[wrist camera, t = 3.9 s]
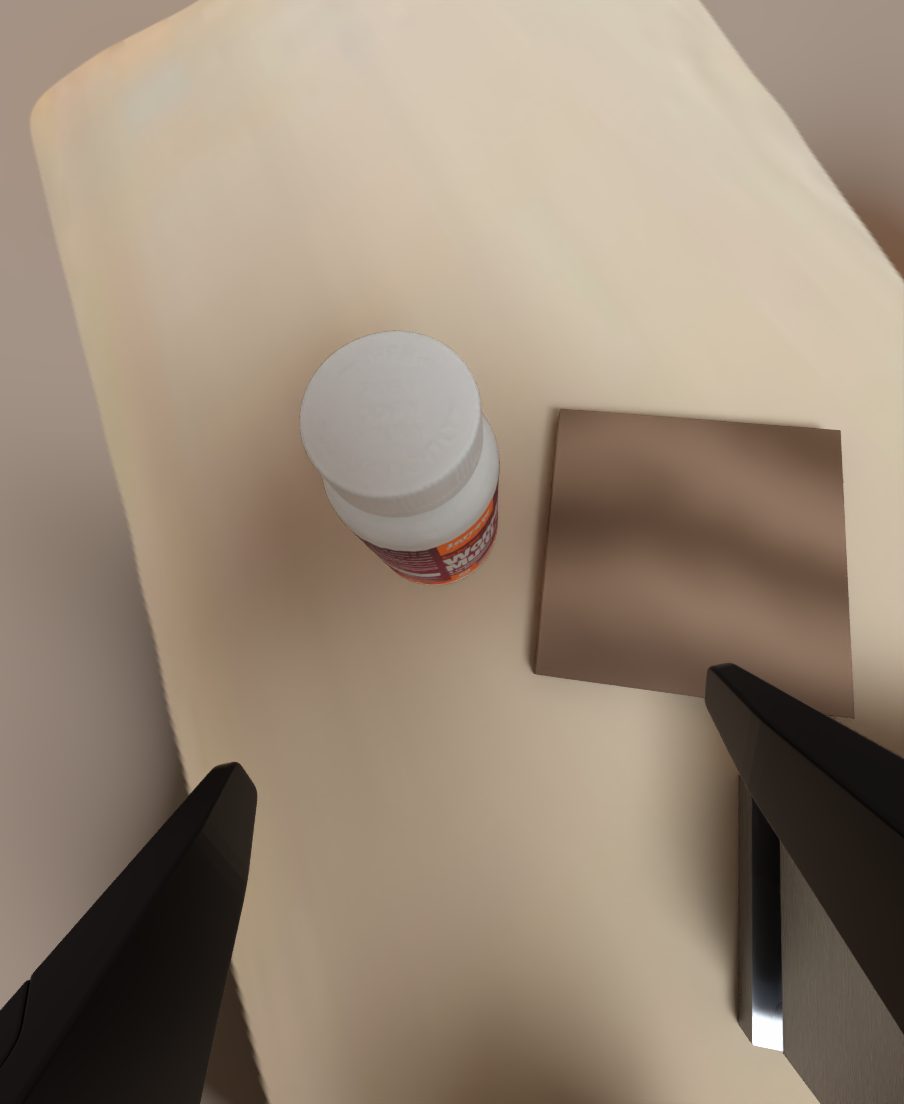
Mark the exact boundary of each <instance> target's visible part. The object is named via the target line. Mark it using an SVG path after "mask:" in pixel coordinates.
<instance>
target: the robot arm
mask: <svg viewBox="0 0 904 1104" xmlns="http://www.w3.org/2000/svg"><path fill="white" fill-rule="evenodd" d="M704 698H705V704H706V707H707V709H708V711H709V713H710V715H711V717H712V719H713V721H714V723H715V725H716V727H717V729H718V731H719V733H720V735H721V737H722V739H723V741H724V743H725V745H726V747H727V749H728V751H729V753H730V755H731V757H732V759H733V761H734V763H735V765H736V767H737V769H738V771H739V773H740V775H741V777H742V779H743V781H744V783H745V785H746V787H747V788H748V790H749V792H750V793H751V795H752V797H753V798H754V800H755V802H756V803H757V805H758V807H759V808H760V810H761V811H762V813H763V814H764V816H765V818H766V819H767V821H768V822H769V824H770V825H771V827H772V829H773V830H774V832H775V833H776V835H777V836H778V838H779V840H780V841H781V843H782V844H783V846H784V847H785V849H786V851H787V852H788V854H789V855H790V857H791V858H792V860H793V862H794V863H795V865H796V866H797V868H798V870H799V871H800V873H801V874H802V876H803V877H804V879H805V881H806V882H807V884H808V885H809V887H810V888H811V890H812V892H813V893H814V895H815V896H816V898H817V899H818V901H819V903H820V904H821V906H822V907H823V909H824V910H825V912H826V914H827V915H828V917H829V918H830V920H831V921H832V923H833V925H834V926H835V928H836V929H837V931H838V933H839V934H840V936H841V937H842V939H843V940H844V942H845V944H846V945H847V947H848V948H849V950H850V951H851V953H852V955H853V956H854V958H855V959H856V961H857V962H858V964H859V966H860V967H861V969H862V970H863V972H864V973H865V975H866V977H867V978H868V980H869V981H870V983H871V984H872V986H873V988H874V989H875V991H876V992H877V994H878V996H879V997H880V999H881V1000H882V1002H883V1003H884V1005H885V1007H886V1008H887V1010H888V1011H889V1013H890V1014H891V1016H892V1018H893V1019H894V1021H895V1022H896V1024H897V1025H898V1027H899V1029H900V1030H901V1032H902V1033H903V1035H904V758H902V757H901V756H899V755H897V754H895V753H893V752H892V751H890V750H888V749H886V748H885V747H883V746H881V745H879V744H877V743H876V742H874V741H872V740H870V739H868V738H867V737H865V736H863V735H861V734H859V733H858V732H856V731H854V730H852V729H851V728H849V727H847V726H845V725H843V724H842V723H840V722H838V721H836V720H834V719H833V718H831V717H829V716H827V715H825V714H824V713H822V712H820V711H818V710H817V709H815V708H813V707H811V706H809V705H808V704H806V703H804V702H802V701H800V700H799V699H797V698H795V697H793V696H791V695H790V694H788V693H786V692H784V691H783V690H781V689H779V688H777V687H775V686H774V685H772V684H770V683H768V682H766V681H765V680H763V679H761V678H759V677H757V676H756V675H754V674H752V673H750V672H749V671H747V670H745V669H743V668H741V667H740V666H738V665H736V664H733V663H723V664H718V665H713V666H710V667H709V668H708V670H707V674H706V685H705V695H704ZM256 806H257V790H256V787H255V785H254V783H253V782H252V780H251V779H250V777H249V776H248V774H247V773H246V771H245V770H244V769H243V767H242V766H241V764H239V763H237V762H231V763H226V764H221V765H218V766H216V767H214V768H213V769H212V770H211V771H210V772H209V773H208V774H207V775H206V777H205V778H204V779H203V780H202V781H201V782H200V783H199V785H198V786H197V787H196V788H195V789H194V790H193V791H192V793H191V794H190V795H189V796H188V797H187V798H186V799H185V801H184V802H183V803H182V804H181V805H180V806H179V807H178V809H177V810H176V811H175V812H174V813H173V814H172V815H171V817H170V818H169V819H168V820H167V821H166V822H165V823H164V824H163V826H162V827H161V828H160V829H159V830H158V832H157V833H156V834H155V835H154V836H153V837H152V838H151V839H150V840H149V842H148V843H147V844H146V845H145V846H144V847H143V848H142V850H141V851H140V852H139V853H138V854H137V855H136V857H135V858H134V859H133V860H132V861H131V862H130V863H129V864H128V866H127V867H126V868H125V869H124V870H123V871H122V872H121V874H120V875H119V876H118V877H117V878H116V880H114V881H113V883H112V884H111V885H110V886H109V887H108V888H107V889H106V891H105V892H104V893H103V894H102V895H101V896H100V897H99V899H98V900H97V901H96V902H95V903H94V904H93V905H92V907H91V908H90V909H89V910H88V911H87V912H86V914H85V915H84V916H83V917H82V918H81V919H80V920H79V921H78V923H77V924H76V925H75V926H74V927H73V928H72V929H71V931H70V932H69V933H68V934H67V935H66V936H65V938H63V940H62V941H61V942H60V943H59V944H58V945H57V947H56V948H55V949H54V950H53V951H52V952H51V954H50V955H49V956H48V957H47V958H46V959H45V960H44V961H43V963H42V964H41V965H40V966H39V967H38V968H37V969H36V970H35V972H34V973H33V974H32V976H31V979H30V980H27V981H26V982H25V983H24V984H23V985H22V986H21V988H19V990H18V991H17V992H16V993H15V994H14V995H13V997H12V998H11V999H10V1000H9V1001H8V1002H7V1003H6V1004H5V1006H4V1007H3V1008H2V1009H1V1010H0V1104H200V1102H201V1097H202V1092H203V1088H204V1083H205V1078H206V1074H207V1069H208V1065H209V1060H210V1055H211V1050H212V1046H213V1041H214V1036H215V1032H216V1026H217V1023H218V1018H219V1013H220V1008H221V1004H222V999H223V995H224V990H225V985H226V981H227V976H228V971H229V967H230V962H231V958H232V953H233V948H234V944H235V939H236V934H237V930H238V925H239V920H240V916H241V911H242V906H243V902H244V897H245V892H246V887H247V880H248V874H249V866H250V857H251V849H252V840H253V832H254V823H255V814H256Z"/></svg>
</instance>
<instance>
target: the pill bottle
mask: <svg viewBox="0 0 904 1104" xmlns="http://www.w3.org/2000/svg"><path fill="white" fill-rule="evenodd" d="M300 432H301V438H302V441H303V445H304V447H305V450H306V453H307V455H308V457H309V459H310V460H311V462H312V463H313V465H314V466H315V468H316V469H317V470H318V472H319V473H320V474H321V475H322V477H323V483H324V487H325V491H326V494H327V496H328V499H329V501H330V503H331V505H332V507H333V508H334V510H335V512H336V513H337V514H338V516H339V517H340V519H341V520H342V521H343V522H344V524H345V525H346V526H347V527H348V528H349V529H350V530H351V531H352V532H353V533H354V534H355V535H357V536H358V537H359V538H360V539H361V540H362V541H363V542H364V543H365V544H366V545H367V546H368V547H369V548H370V549H371V550H372V551H373V552H374V553H375V554H376V555H377V556H378V557H380V558H381V559H382V560H383V562H385V563H386V564H387V565H388V566H389V567H390V568H391V569H393V570H394V571H395V572H396V573H398V574H399V575H401V576H402V577H404V578H406V579H408V580H410V581H413V582H415V583H419V584H423V585H444V584H450V583H453V582H456V581H459V580H461V579H463V578H465V577H466V576H468V575H470V574H471V573H473V572H474V571H475V570H476V569H478V568H479V566H480V565H481V564H482V563H483V562H484V561H485V559H486V558H487V557H488V555H489V553H490V551H491V549H492V547H493V545H494V542H495V538H496V534H497V520H498V480H499V471H500V461H499V453H498V446H497V442H496V438H495V435H494V433H493V430H492V428H491V426H490V424H489V422H488V420H487V419H486V417H485V416H484V414H483V413H482V411H481V400H480V394H479V390H478V387H477V384H476V381H475V379H474V377H473V375H472V373H471V371H470V369H469V368H468V366H467V365H466V364H465V362H464V361H463V360H462V359H461V358H460V357H459V356H458V355H457V354H456V353H455V352H454V351H453V350H451V349H450V348H449V347H448V346H446V345H445V344H443V343H441V342H439V341H438V340H435V339H433V338H431V337H428V336H425V335H422V334H418V333H414V332H407V331H386V332H380V333H375V334H371V335H367V336H364V337H361V338H359V339H356V340H354V341H352V342H350V343H348V344H347V345H345V346H343V347H342V348H340V349H338V350H337V351H336V352H335V353H333V354H332V355H331V356H330V357H329V358H328V359H326V360H325V362H324V363H323V364H322V365H321V366H320V367H319V369H318V370H317V371H316V372H315V374H314V375H313V377H312V379H311V380H310V382H309V384H308V386H307V388H306V391H305V394H304V397H303V400H302V403H301V410H300Z"/></svg>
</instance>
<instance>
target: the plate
mask: <svg viewBox="0 0 904 1104" xmlns="http://www.w3.org/2000/svg"><path fill="white" fill-rule="evenodd" d="M723 663H733V664H736V665H738V666H740V667H741V668H743V669H745V670H747V671H749V672H750V673H752V674H754V675H756V676H757V677H759V678H761V679H763V680H765V681H766V682H768V683H770V684H772V685H774V686H775V687H777V688H779V689H781V690H783V691H784V692H786V693H788V694H790V695H791V696H793V697H795V698H797V699H799V700H800V701H802V702H804V703H806V704H808V705H809V706H811V707H813V708H815V709H817V710H818V711H820V712H822V713H824V714H825V715H831V716H839V717H846V718H853V719H854V701H853V681H852V660H851V639H850V618H849V597H848V577H847V556H846V535H845V514H844V494H843V473H842V452H841V431H840V430H829V429H817V428H804V427H791V426H778V425H765V424H752V423H739V422H726V421H713V420H700V419H687V418H674V417H661V416H648V415H635V414H622V413H610V412H597V411H584V410H571V409H560V412H559V416H558V422H557V433H556V443H555V454H554V465H553V475H552V486H551V497H550V507H549V518H548V528H547V539H546V550H545V560H544V571H543V581H542V592H541V603H540V613H539V624H538V634H537V645H536V656H535V666H534V674H537V675H544V676H551V677H559V678H566V679H573V680H580V681H587V682H594V683H602V684H609V685H616V686H623V687H630V688H638V689H645V690H652V691H659V692H666V693H673V694H681V695H688V696H695V697H702V698H704V695H705V685H706V674H707V670H708V668H709V667H710V666H713V665H718V664H723Z"/></svg>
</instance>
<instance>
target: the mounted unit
mask: <svg viewBox="0 0 904 1104" xmlns="http://www.w3.org/2000/svg"><path fill="white" fill-rule="evenodd" d="M739 1026H740V1027H741V1029H742V1030H743V1032H744V1033H745V1035H746V1036H747V1038H748V1039H749V1041H750V1042H751V1043H752V1045H755V1046H760V1047H765V1048H769V1049H774V1050H779V1051H783V1054H784V1055H785V1057H786V1058H787V1059H788V1061H789V1062H790V1063H791V1065H792V1066H793V1067H794V1069H795V1070H796V1071H797V1073H798V1074H799V1075H800V1077H801V1078H802V1079H803V1081H804V1082H805V1084H806V1085H807V1086H808V1088H809V1089H810V1090H811V1092H812V1093H813V1094H814V1096H815V1097H816V1098H817V1100H818V1101H819V1102H820V1104H904V1035H903V1033H902V1032H901V1030H900V1029H899V1027H898V1025H897V1024H896V1022H895V1021H894V1019H893V1018H892V1016H891V1014H890V1013H889V1011H888V1010H887V1008H886V1007H885V1005H884V1003H883V1002H882V1000H881V999H880V997H879V996H878V994H877V992H876V991H875V989H874V988H873V986H872V984H871V983H870V981H869V980H868V978H867V977H866V975H865V973H864V972H863V970H862V969H861V967H860V966H859V964H858V962H857V961H856V959H855V958H854V956H853V955H852V953H851V951H850V950H849V948H848V947H847V945H846V944H845V942H844V940H843V939H842V937H841V936H840V934H839V933H838V931H837V929H836V928H835V926H834V925H833V923H832V921H831V920H830V918H829V917H828V915H827V914H826V912H825V910H824V909H823V907H822V906H821V904H820V903H819V901H818V899H817V898H816V896H815V895H814V893H813V892H812V890H811V888H810V887H809V885H808V884H807V882H806V881H805V879H804V877H803V876H802V874H801V873H800V871H799V870H798V868H797V866H796V865H795V863H794V862H793V860H792V858H791V857H790V855H789V854H788V852H787V851H786V849H785V847H784V846H783V844H782V843H781V841H780V840H779V838H778V836H777V835H776V833H775V832H774V830H773V829H772V827H771V825H770V824H769V822H768V821H767V819H766V818H765V816H764V814H763V813H762V811H761V810H760V808H759V807H758V805H757V803H756V802H755V800H754V798H753V797H752V795H751V793H750V792H749V790H748V788H747V787H746V785H745V783H744V781H743V779H742V777H741V775H739Z"/></svg>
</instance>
